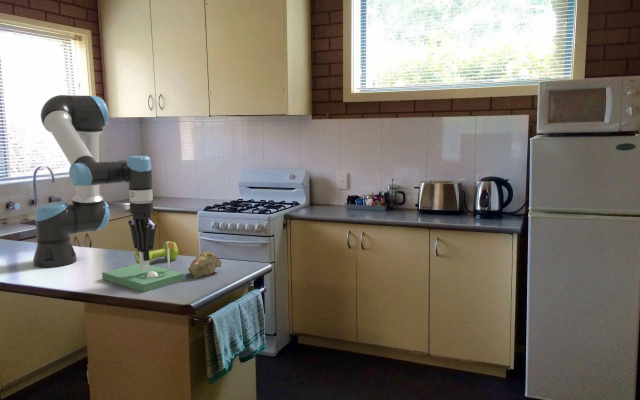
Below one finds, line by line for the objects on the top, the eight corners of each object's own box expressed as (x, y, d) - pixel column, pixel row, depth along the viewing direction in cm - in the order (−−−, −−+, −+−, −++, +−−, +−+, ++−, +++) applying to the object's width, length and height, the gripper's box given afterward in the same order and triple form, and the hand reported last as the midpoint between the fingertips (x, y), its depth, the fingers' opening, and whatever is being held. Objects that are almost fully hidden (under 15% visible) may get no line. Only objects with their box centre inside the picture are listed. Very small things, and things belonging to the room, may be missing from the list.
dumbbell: (145, 268, 205) (144, 250, 204) (132, 265, 210) (132, 247, 209) (181, 260, 217) (180, 242, 216) (168, 257, 222) (168, 239, 221)
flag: (167, 277, 192) (166, 241, 191) (169, 277, 193) (168, 241, 191) (174, 279, 190) (172, 242, 188) (176, 278, 191) (174, 242, 189)
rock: (200, 290, 194) (191, 269, 189) (186, 280, 200) (177, 260, 194) (225, 270, 201) (217, 250, 195) (210, 262, 206) (203, 242, 200)
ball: (143, 271, 185) (150, 273, 183) (153, 269, 189) (160, 270, 186) (144, 283, 186) (151, 285, 183) (154, 280, 189) (161, 282, 187)
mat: (102, 279, 190) (102, 272, 190) (141, 269, 203) (141, 262, 203) (144, 292, 176) (143, 284, 176) (183, 280, 189) (183, 273, 189)
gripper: (120, 201, 186) (124, 268, 189) (143, 204, 178) (146, 274, 181) (139, 199, 192) (142, 264, 195) (162, 202, 184) (165, 270, 187)
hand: (144, 269), depth 188 cm, fingers closed
